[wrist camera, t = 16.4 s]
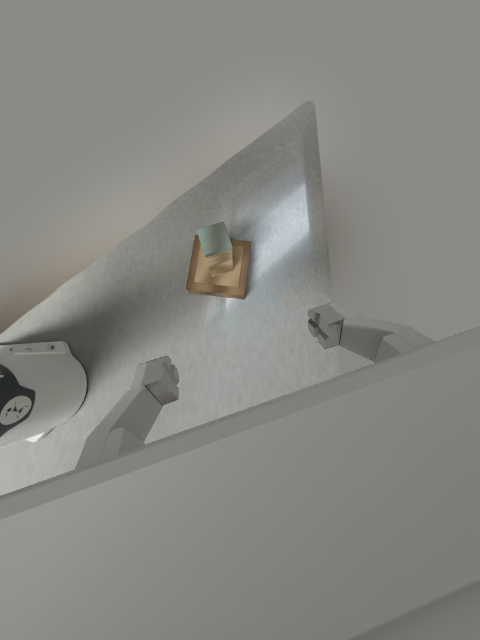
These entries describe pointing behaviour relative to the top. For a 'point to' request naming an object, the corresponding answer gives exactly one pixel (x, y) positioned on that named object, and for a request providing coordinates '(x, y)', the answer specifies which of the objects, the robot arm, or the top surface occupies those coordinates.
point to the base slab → (224, 283)
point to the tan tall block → (216, 248)
